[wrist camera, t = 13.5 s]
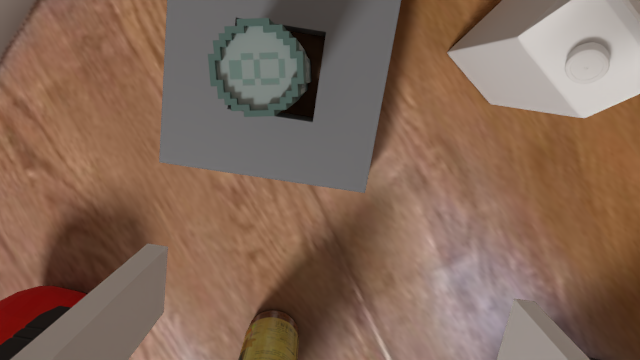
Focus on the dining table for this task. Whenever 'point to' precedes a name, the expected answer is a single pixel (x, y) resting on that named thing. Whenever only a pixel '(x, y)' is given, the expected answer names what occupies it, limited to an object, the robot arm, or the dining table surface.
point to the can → (259, 67)
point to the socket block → (282, 129)
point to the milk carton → (555, 55)
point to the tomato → (32, 306)
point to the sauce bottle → (271, 338)
